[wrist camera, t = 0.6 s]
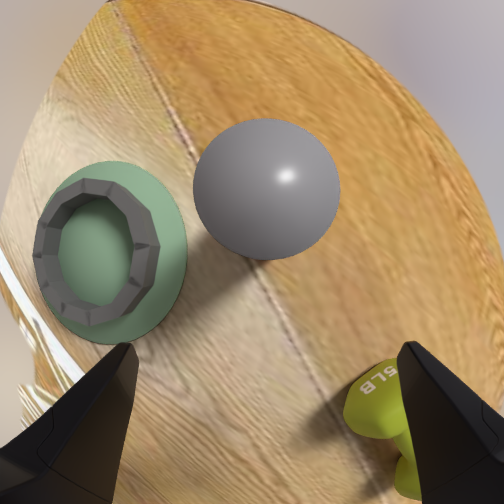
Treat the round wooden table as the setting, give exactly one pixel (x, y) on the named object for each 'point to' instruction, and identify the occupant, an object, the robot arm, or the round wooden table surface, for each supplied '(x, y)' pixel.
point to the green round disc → (110, 252)
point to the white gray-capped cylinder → (266, 189)
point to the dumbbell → (384, 420)
